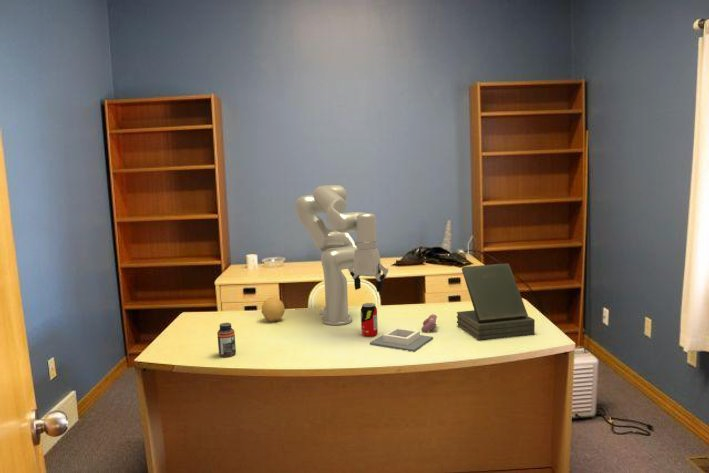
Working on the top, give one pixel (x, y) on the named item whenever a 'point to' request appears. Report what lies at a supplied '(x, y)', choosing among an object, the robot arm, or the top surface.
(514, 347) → the top surface
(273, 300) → the stress ball
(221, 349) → the supplement bottle
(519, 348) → the top surface
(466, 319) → the dark grey slab stack
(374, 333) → the beverage can
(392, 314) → the top surface
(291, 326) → the top surface
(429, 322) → the video game controller
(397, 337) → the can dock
